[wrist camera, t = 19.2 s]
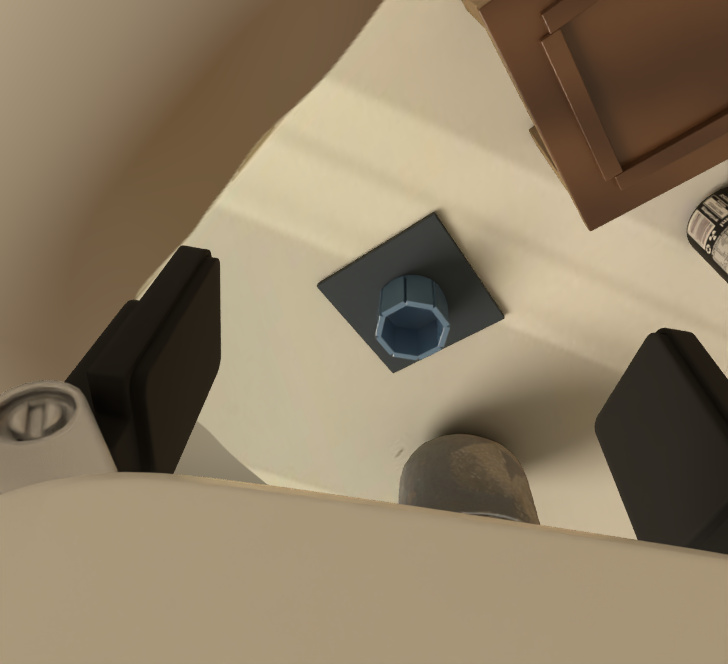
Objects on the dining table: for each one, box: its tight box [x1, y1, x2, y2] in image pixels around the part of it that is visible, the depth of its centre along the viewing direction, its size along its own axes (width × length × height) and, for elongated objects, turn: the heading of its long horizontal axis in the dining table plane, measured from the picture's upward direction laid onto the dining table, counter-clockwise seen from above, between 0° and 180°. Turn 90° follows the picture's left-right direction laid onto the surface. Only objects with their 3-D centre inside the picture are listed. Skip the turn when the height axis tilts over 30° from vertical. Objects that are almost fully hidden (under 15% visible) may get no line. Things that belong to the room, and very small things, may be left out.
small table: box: [462, 0, 728, 231], centre depth 31 cm, size 14×14×17 cm
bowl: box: [399, 434, 540, 525], centre depth 61 cm, size 18×18×15 cm
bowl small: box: [375, 275, 450, 360], centre depth 51 cm, size 7×7×5 cm
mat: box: [317, 212, 504, 373], centre depth 53 cm, size 14×14×1 cm
